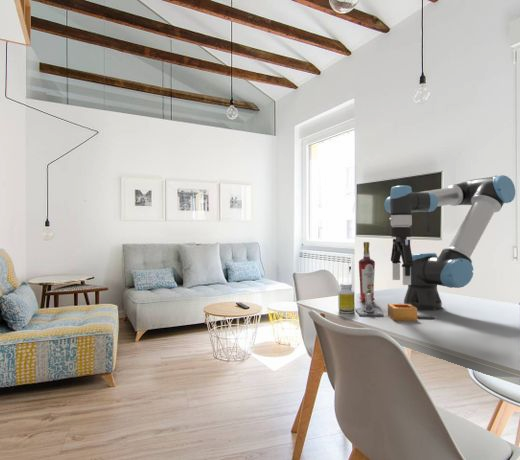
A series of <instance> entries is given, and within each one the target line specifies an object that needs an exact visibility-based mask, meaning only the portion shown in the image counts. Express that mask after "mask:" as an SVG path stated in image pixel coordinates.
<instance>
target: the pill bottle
mask: <svg viewBox="0 0 520 460" xmlns="http://www.w3.org/2000/svg"><path fill="white" fill-rule="evenodd" d="M339 286H340V289H339V290H338V293H337V295H338V296H337V300H338V305H337V306H338V312H339V313H340V314H341V313H342V314H354V313H355V312H356V311H355V308H356V307H355V291H354V290H353V289H352V288H353V284H352V283H350V282H343V283H342V282H341V283H340V285H339Z"/></svg>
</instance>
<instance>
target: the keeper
mask: <svg viewBox="0 0 520 460" xmlns="http://www.w3.org/2000/svg"><path fill="white" fill-rule="evenodd" d="M355 310H356V311H355V312H356V313H357V315H358V314H359V315H358V316H359V317H379V318H380V317H383V318H384V317H385V315H384V314H383V312H381V310H379V309H378V307H377V308H375V307H373V301H372V294H369V293H366V302H365V307H364V308H362V307H358V308H357V307H355Z"/></svg>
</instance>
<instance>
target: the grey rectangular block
mask: <svg viewBox="0 0 520 460" xmlns="http://www.w3.org/2000/svg"><path fill="white" fill-rule="evenodd" d="M435 318H436V317H435V316H434V315H431V314H430V315H428V314H426V315H425V314H424V315H421V314H420V315H419V314H417V320H435Z"/></svg>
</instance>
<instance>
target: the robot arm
mask: <svg viewBox="0 0 520 460" xmlns="http://www.w3.org/2000/svg"><path fill="white" fill-rule="evenodd" d="M515 187H516V186H515V184H514V181H513V180H512V179H511V178H510V177H509V176H507V175H503V174H502V175H501V174H500V175H493V176H489V177H482V178H474V179H469V180H466V181H462V182H460V183H455V184H451V185H448V186H447V187H445V188H438V189H431V190H424V191H417V192H416V191H415V192H414V191H413V190H412V186H410V185H396V186H392V187H391V189H390V196H388V197H387V198H386V199H385V201H384V210H385V212H387V213H389V214H390V217H389V218H388V219H389V221H390V226H391V227H390V237H392V238H393V239H392V248H391V255H390V261H391V263H392V280H393V281H401V268H402V285H403V286H407V289H406V293H405V295H404V296H405V297H404V298H403V304H411V305H412V306H414V307H416V308H417V310H426V311H427V310H441V309H442V307H443V305H442V304H443V302H442V300H441V296H440V293H439V291H438V286H442V287H447V288H455V289H456V288H457V289H460V288H464V287H466V286H468V284H469V283H470V282H471V281H472V279H473V276H474V272H473V271H474V266H473V264H472V263H473V261H472V258H471V256H472V255H473V253H474V250H476V246H477V245H478V243H479V242H480V240H481V237H482V236H483V234H484V232H485V230H486V229H487V227H488V225H489V223H490V220H492V217H493V215H494V214H495V213H498V212H500V211H501V209H502V207H503V206H504V204H510V203H511V202H513V201H514V200H515V196H516V188H515ZM448 205H449V206H452V207H455V206H471V207H470V209H469V210H468V212H467V214H466V216H465V217H464V219H463V220H462V222H461V225H460V226H459V228H458V230H457V232H456V234H455V235H454V237H453V239H452V240H451V242H450V244H449V246H448V247H447V248H443V249H442V251H441V252H440V254H439V255H437V253H436V252H430V253H429V252H426V253H414V254H412V248H411V240H410V239H407V238H410V237H412V235H413V234H412V233H413V230H412V229H413V228H412V227H411V226H412V225H413V217H412V216H413V213H420V212H422V213H427V212H429V213H430V212H434V211H435V210H436V209H437V207H444V206H448ZM401 260H402V264H401Z"/></svg>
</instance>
